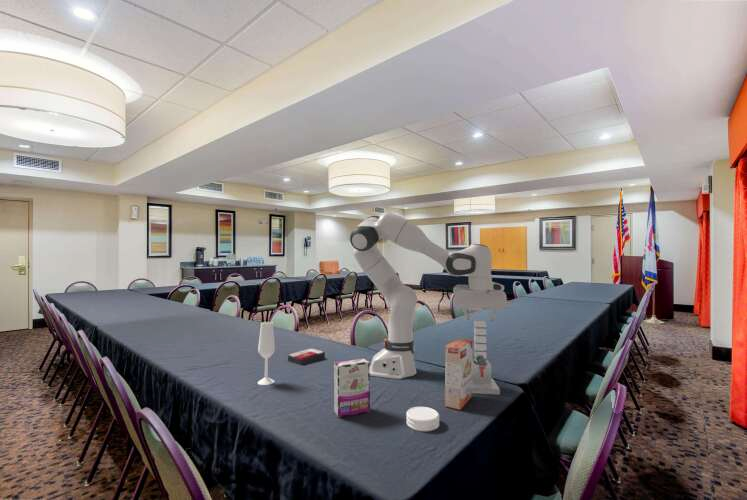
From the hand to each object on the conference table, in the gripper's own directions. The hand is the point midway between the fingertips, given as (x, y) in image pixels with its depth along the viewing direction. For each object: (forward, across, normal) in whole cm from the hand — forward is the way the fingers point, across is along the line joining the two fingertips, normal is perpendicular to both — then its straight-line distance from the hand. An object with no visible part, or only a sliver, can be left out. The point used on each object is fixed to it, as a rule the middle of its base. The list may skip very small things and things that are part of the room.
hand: (479, 320), depth 135 cm
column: (+21, 0, 0) cm, 21 cm away
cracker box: (+27, -9, -15) cm, 32 cm away
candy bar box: (+28, -45, -28) cm, 60 cm away
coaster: (+27, -22, -33) cm, 48 cm away
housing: (+26, 0, 0) cm, 27 cm away
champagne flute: (+28, -85, -5) cm, 90 cm away
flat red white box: (+28, -79, +28) cm, 89 cm away
